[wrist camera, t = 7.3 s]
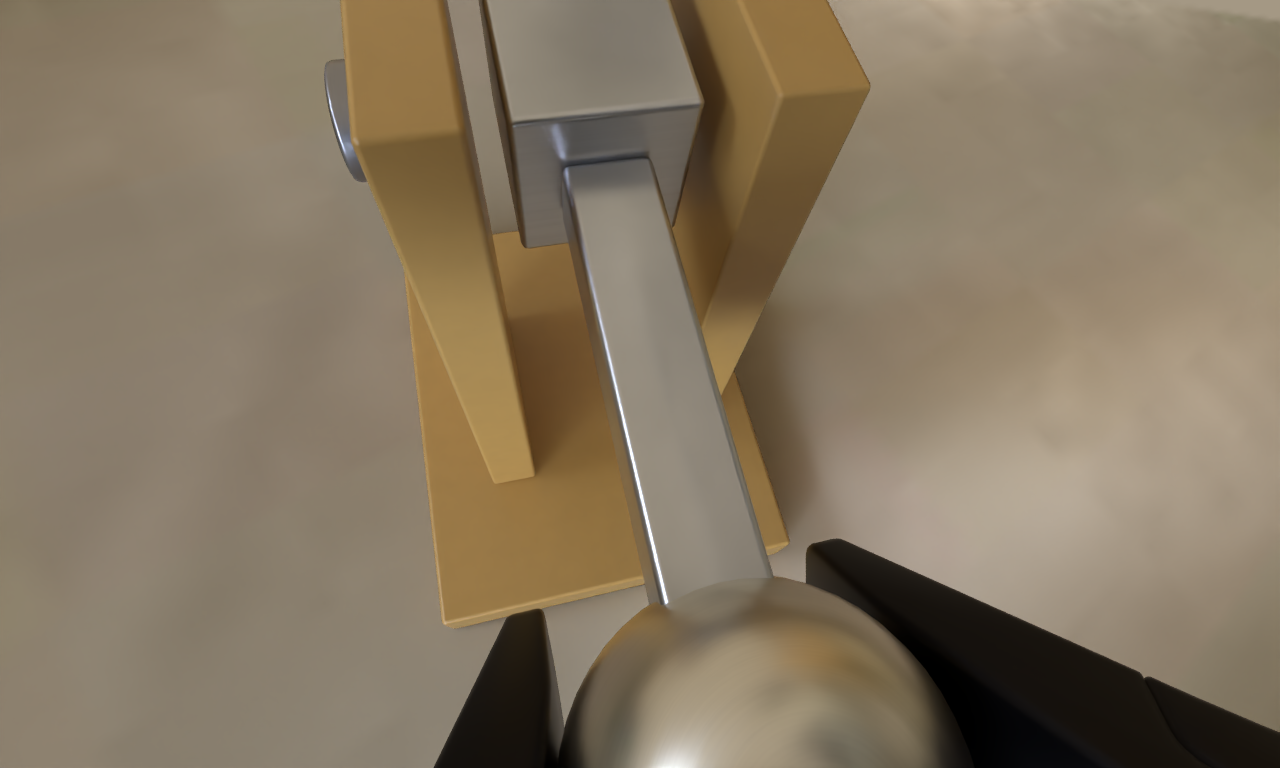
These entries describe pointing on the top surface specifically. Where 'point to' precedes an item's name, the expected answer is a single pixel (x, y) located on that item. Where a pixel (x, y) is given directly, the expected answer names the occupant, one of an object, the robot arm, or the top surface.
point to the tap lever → (681, 433)
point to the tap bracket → (574, 283)
